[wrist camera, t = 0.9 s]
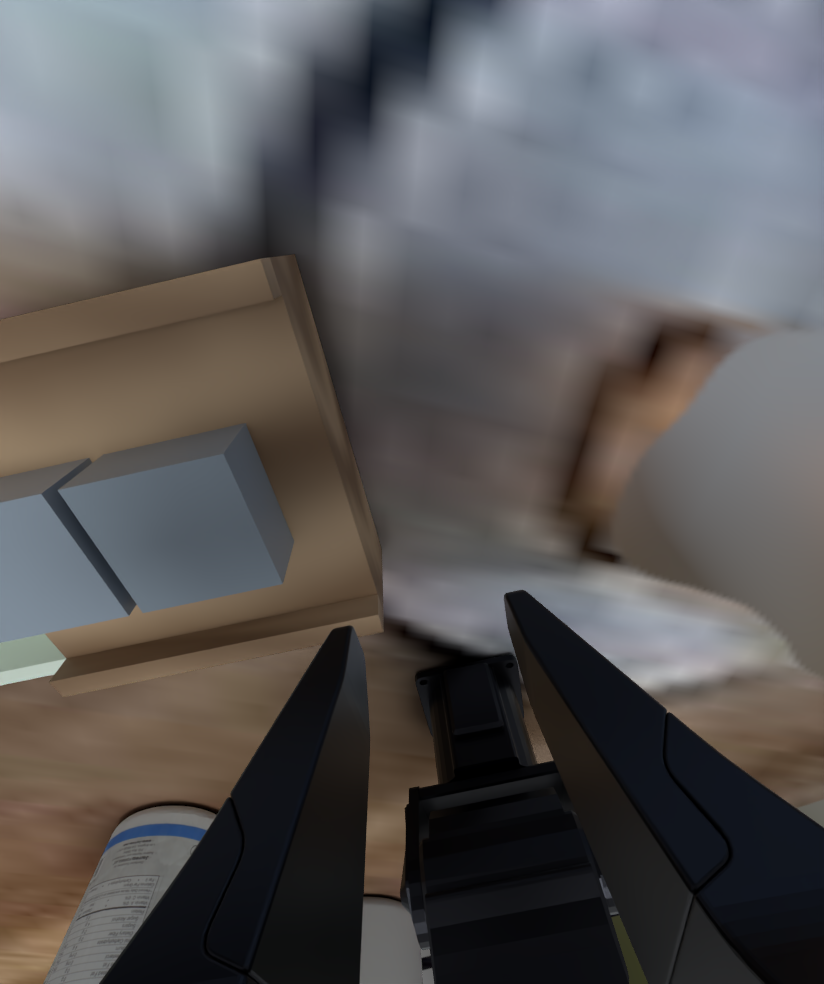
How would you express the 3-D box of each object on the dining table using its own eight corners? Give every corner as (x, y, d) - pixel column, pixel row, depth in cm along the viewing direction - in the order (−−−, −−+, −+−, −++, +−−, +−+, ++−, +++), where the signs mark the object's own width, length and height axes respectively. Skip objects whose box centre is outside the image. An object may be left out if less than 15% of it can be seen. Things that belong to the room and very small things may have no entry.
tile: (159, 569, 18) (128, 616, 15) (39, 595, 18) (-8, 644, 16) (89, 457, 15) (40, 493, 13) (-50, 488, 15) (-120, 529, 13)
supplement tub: (262, 845, 37) (203, 1157, 25) (158, 869, 38) (50, 1185, 25) (204, 787, 33) (94, 1136, 20) (87, 816, 33) (-90, 1170, 21)
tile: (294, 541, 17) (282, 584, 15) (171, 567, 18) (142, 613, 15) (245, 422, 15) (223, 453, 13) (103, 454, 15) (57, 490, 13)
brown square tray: (381, 549, 23) (383, 631, 18) (127, 602, 24) (62, 697, 19) (294, 254, 17) (260, 258, 12) (-60, 337, 17) (-240, 376, 12)
